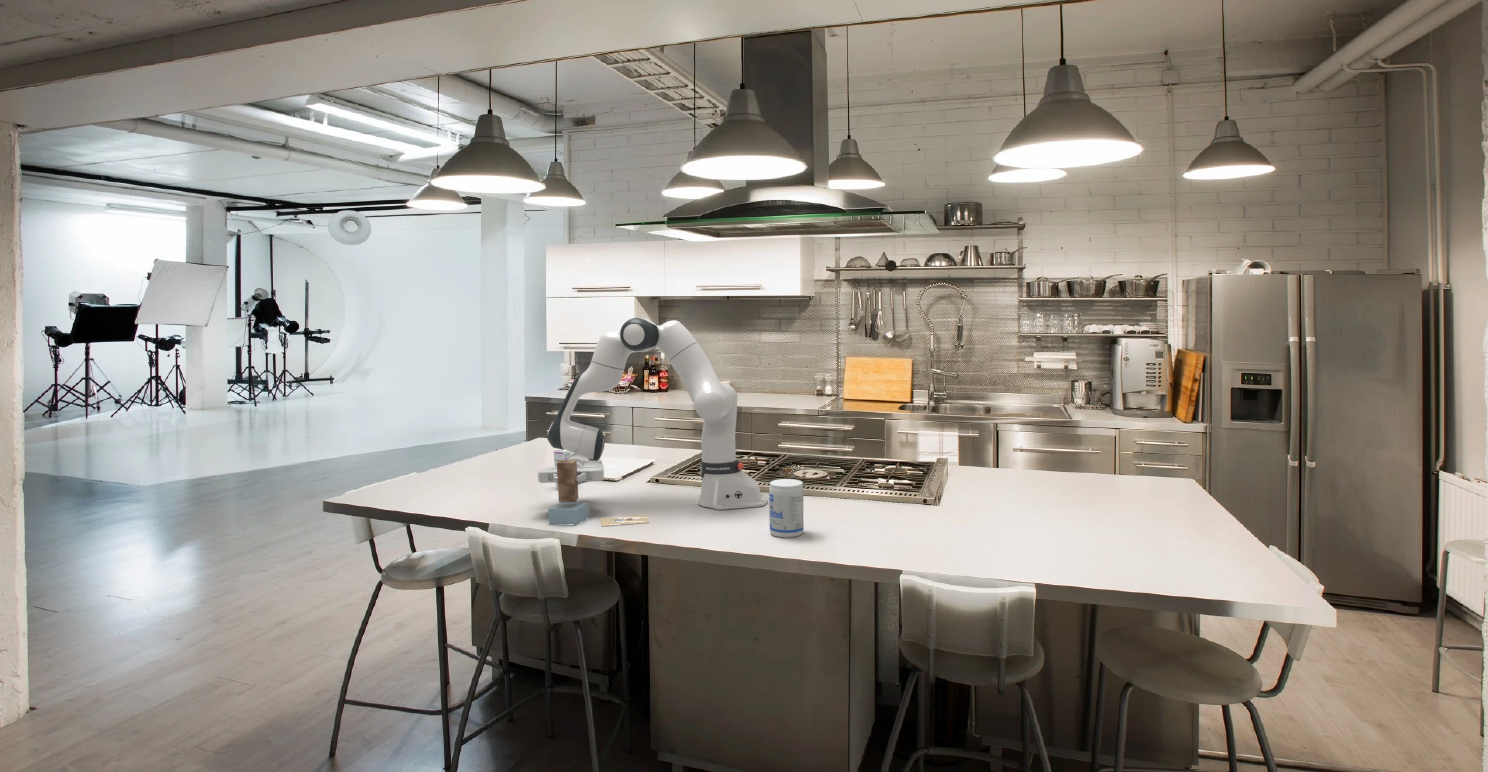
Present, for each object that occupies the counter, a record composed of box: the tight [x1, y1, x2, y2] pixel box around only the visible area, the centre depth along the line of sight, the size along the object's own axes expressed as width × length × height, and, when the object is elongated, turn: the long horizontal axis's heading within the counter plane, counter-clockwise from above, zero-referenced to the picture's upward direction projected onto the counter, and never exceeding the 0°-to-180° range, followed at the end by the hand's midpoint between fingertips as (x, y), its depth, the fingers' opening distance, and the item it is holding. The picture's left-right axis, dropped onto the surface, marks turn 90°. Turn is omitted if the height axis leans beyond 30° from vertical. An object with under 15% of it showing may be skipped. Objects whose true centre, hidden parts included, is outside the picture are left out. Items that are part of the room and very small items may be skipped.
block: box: [557, 460, 579, 503], centre depth 243 cm, size 5×5×12 cm
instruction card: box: [600, 514, 650, 527], centre depth 243 cm, size 14×10×1 cm
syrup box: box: [553, 449, 575, 490], centre depth 289 cm, size 6×6×14 cm
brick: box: [548, 501, 591, 526], centre depth 244 cm, size 9×9×5 cm
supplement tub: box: [768, 478, 805, 539], centre depth 223 cm, size 10×10×15 cm
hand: (567, 479), depth 242 cm, fingers closed on block, 5 cm apart
